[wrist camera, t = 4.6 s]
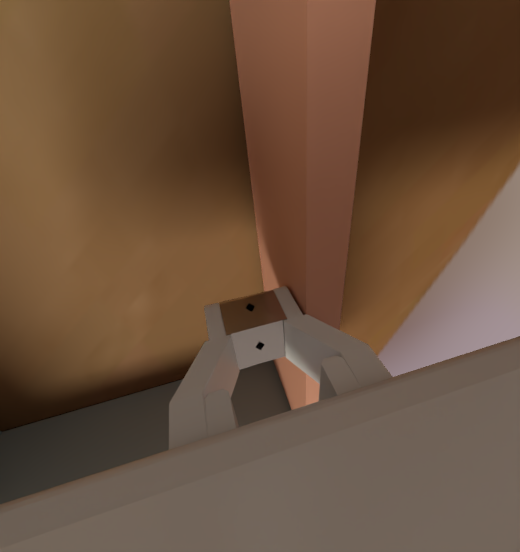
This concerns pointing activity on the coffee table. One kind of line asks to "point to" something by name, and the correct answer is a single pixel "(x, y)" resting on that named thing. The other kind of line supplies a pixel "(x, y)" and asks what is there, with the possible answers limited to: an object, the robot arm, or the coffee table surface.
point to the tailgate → (303, 147)
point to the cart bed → (116, 433)
